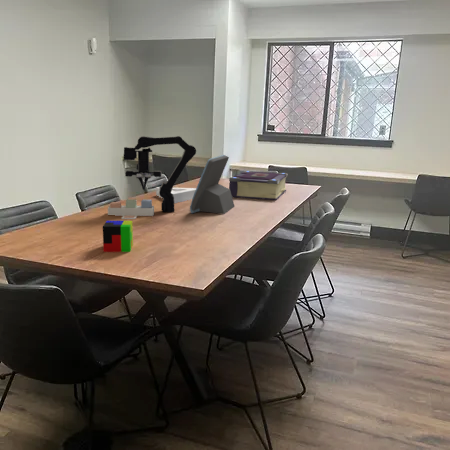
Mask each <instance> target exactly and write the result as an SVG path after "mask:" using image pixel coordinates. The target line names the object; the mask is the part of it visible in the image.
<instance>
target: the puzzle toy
mask: <svg viewBox="0 0 450 450" xmlns="http://www.w3.org/2000/svg"><path fill="white" fill-rule="evenodd" d="M133 230H134V228H133V220H106V221H105V222H104V224H103V225H102V242H103V243H102V244H103V248H102V249H103V252H104V253H105V252H106V253H107V252H108V253H109V252H110V253H111V252H113V253H117V252H118V253H119V252H120V253H121V252H122V253H123V252H125V253H128V252H131V251H132V248H133V246H134V237H133V236H134V235H133Z"/></svg>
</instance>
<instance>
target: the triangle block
mask: <svg viewBox="0 0 450 450" xmlns="http://www.w3.org/2000/svg"><path fill="white" fill-rule="evenodd" d="M159 187H160V186H155V196H156V195H157V196H159V197H158V198H160V197H161V196H160V193H159V190H160V189H159ZM196 188H197V187H196ZM196 188H195V187H194V188H193V187H173V188H172V191H171V193H172V194H173V196H174V204H177V203H178V202H179V203H182V202H186V201H187V200H188V201H192V200H191V199H193V196H194V193H195V190H196ZM157 196H156V197H157ZM160 199H162V197H161V198H160Z"/></svg>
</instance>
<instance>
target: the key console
mask: <svg viewBox="0 0 450 450" xmlns="http://www.w3.org/2000/svg"><path fill="white" fill-rule="evenodd" d="M108 215H115V217H116V216H118V217H119V216H121V217H123V216H137V217H140V216H141V217H153V216H154V215H155V205H152V208H141V205H137V207H136V208H126V205H123V204H121V208H110V205H109V206H107V216H108Z"/></svg>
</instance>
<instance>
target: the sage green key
mask: <svg viewBox="0 0 450 450" xmlns="http://www.w3.org/2000/svg"><path fill="white" fill-rule="evenodd" d="M137 201H138V200H137V199H129V198H126V200H125V206H126V208H136V207H137V206H138V205H137V204H138V202H137Z"/></svg>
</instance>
